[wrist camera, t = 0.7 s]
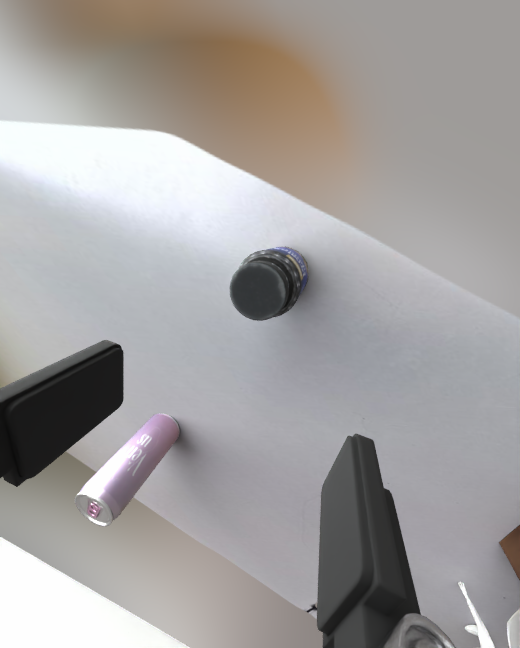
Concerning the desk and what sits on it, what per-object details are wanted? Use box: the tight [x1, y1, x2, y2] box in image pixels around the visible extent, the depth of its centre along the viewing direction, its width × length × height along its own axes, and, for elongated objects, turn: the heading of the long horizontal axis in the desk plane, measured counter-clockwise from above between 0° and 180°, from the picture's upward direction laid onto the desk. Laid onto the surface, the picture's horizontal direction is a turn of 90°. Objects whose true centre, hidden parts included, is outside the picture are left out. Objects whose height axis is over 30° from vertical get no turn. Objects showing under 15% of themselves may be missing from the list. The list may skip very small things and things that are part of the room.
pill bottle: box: [230, 247, 308, 320], centre depth 24 cm, size 6×6×11 cm
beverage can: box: [75, 413, 179, 526], centre depth 37 cm, size 6×6×15 cm
